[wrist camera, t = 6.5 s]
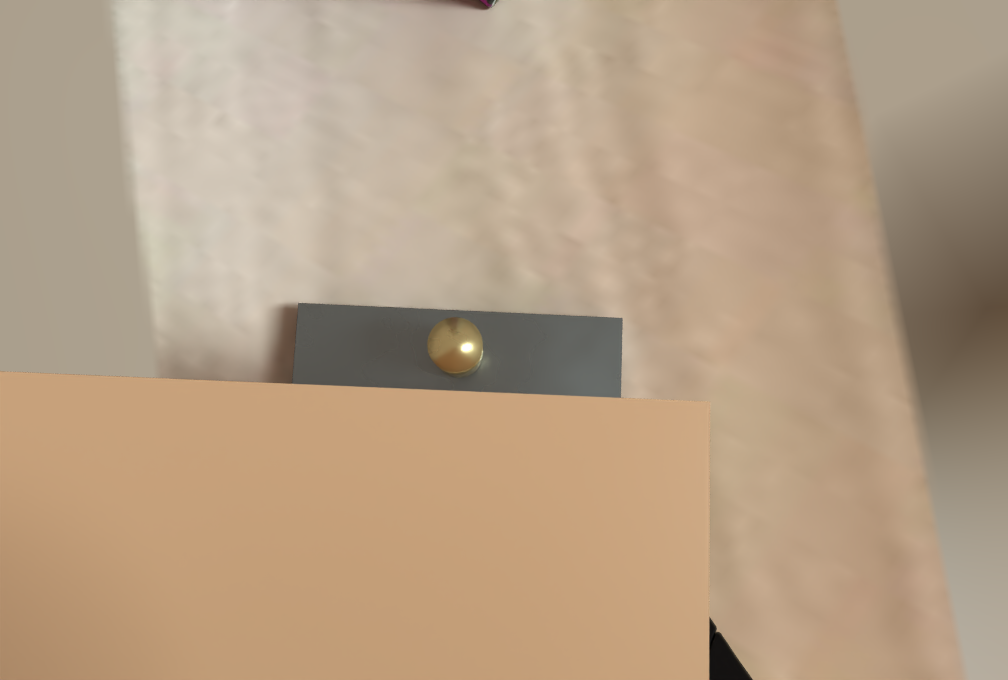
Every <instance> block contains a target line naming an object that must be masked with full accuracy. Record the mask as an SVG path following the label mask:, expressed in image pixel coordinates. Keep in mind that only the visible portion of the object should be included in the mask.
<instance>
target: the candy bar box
mask: <svg viewBox="0 0 1008 680" xmlns="http://www.w3.org/2000/svg"><path fill="white" fill-rule="evenodd" d="M480 1H481V2H483V3H484V4H485V5H486V6H488V7H491V8H492V7H493V6H494V5H495V4H496V3H497V2H498V1H499V0H480Z"/></svg>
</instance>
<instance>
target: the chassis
mask: <svg viewBox="0 0 1008 680" xmlns="http://www.w3.org/2000/svg"><path fill="white" fill-rule="evenodd" d="M621 365H622V318H609V317H587V316H566V315H544V314H523V313H501V312H480V311H458V310H437V309H415V308H393V307H372V306H350V305H329V304H307V303H298V316H297V328H296V341H295V354H294V366H293V379H292V384H307V385H331V386H354V387H378V388H401V389H424V390H448V391H471V392H495V393H518V394H541V395H565V396H588V397H612V398H621Z"/></svg>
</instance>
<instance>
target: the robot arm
mask: <svg viewBox="0 0 1008 680" xmlns="http://www.w3.org/2000/svg"><path fill="white" fill-rule="evenodd" d="M716 630H717V628H716V626H715V624H714V623H713V621H712V620H711V618H710V617H709V680H753V679H752V678H751V677H750V675H749V674H748V672H747V671H746V670H745V668H744V667H743V665H742V664H741V663H740V661H739V660H738V658H737V657H736V655H735V654H734V652H733V651H732V649H731V648H730V646H729V645H728V643H727V642H726V640H725V639H724V637H723V636H722V634H721V633H720V632H716Z"/></svg>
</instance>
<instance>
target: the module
mask: <svg viewBox="0 0 1008 680" xmlns="http://www.w3.org/2000/svg"><path fill="white" fill-rule="evenodd" d="M709 577H710V402H705V401H682V400H658V399H635V398H612V397H588V396H565V395H541V394H518V393H495V392H471V391H448V390H424V389H401V388H378V387H354V386H331V385H307V384H284V383H261V382H237V381H214V380H190V379H167V378H143V377H120V376H97V375H74V374H73V375H72V374H50V373H26V372H3V371H0V680H709Z"/></svg>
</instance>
